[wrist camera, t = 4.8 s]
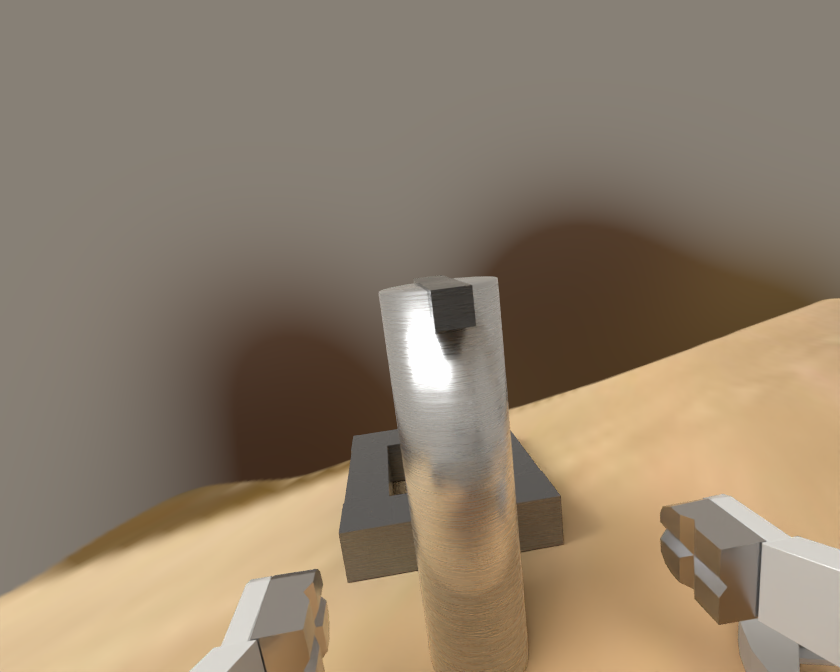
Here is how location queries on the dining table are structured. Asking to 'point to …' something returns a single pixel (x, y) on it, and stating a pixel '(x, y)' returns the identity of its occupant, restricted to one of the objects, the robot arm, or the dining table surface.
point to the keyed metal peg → (458, 468)
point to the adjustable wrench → (772, 650)
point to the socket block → (390, 515)
